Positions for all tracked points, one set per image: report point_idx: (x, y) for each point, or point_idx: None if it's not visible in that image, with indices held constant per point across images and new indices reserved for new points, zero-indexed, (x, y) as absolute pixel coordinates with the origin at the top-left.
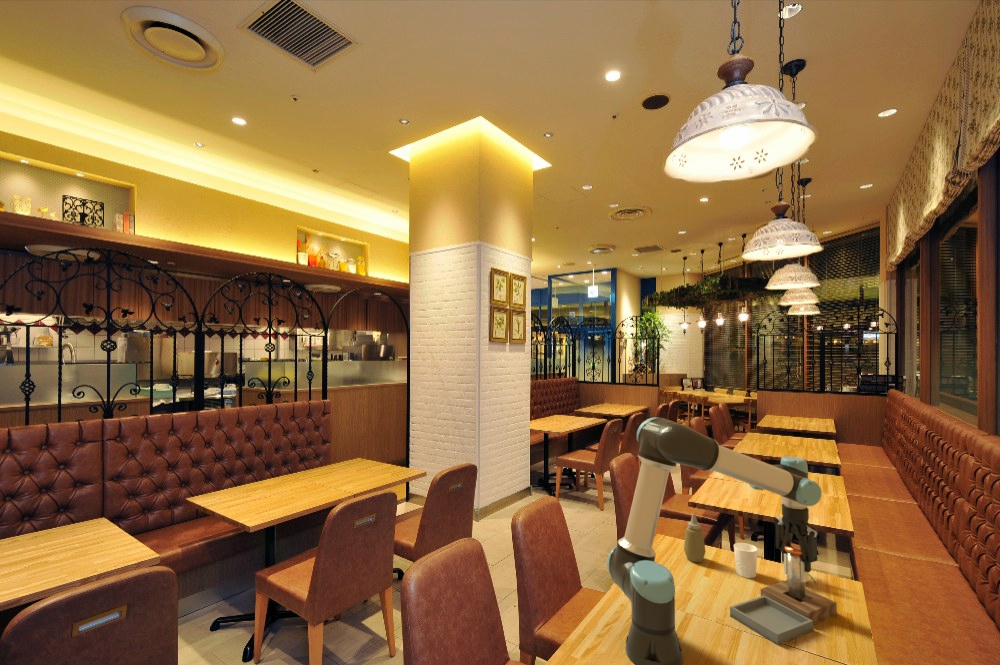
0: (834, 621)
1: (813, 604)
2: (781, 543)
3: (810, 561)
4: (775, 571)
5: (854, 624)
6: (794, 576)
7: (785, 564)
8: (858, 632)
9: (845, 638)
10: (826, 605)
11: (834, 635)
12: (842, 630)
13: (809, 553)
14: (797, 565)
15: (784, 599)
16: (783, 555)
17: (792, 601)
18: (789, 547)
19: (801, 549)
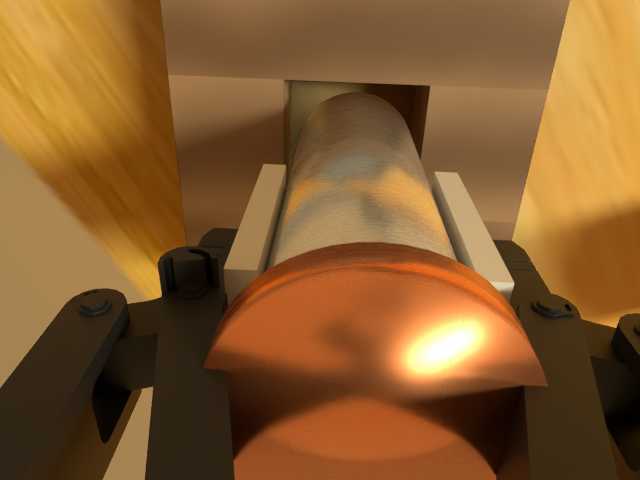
0: (171, 171)
1: (227, 133)
2: (633, 433)
3: (103, 294)
4: None
5: (118, 230)
6: (331, 148)
7: (460, 213)
8: (57, 175)
9: (27, 51)
10: (186, 193)
11: (65, 22)
12: (93, 119)
13: (65, 380)
14: (299, 218)
15: (366, 2)
16: (520, 283)
17: (318, 33)
18: (435, 359)
19: (211, 400)
